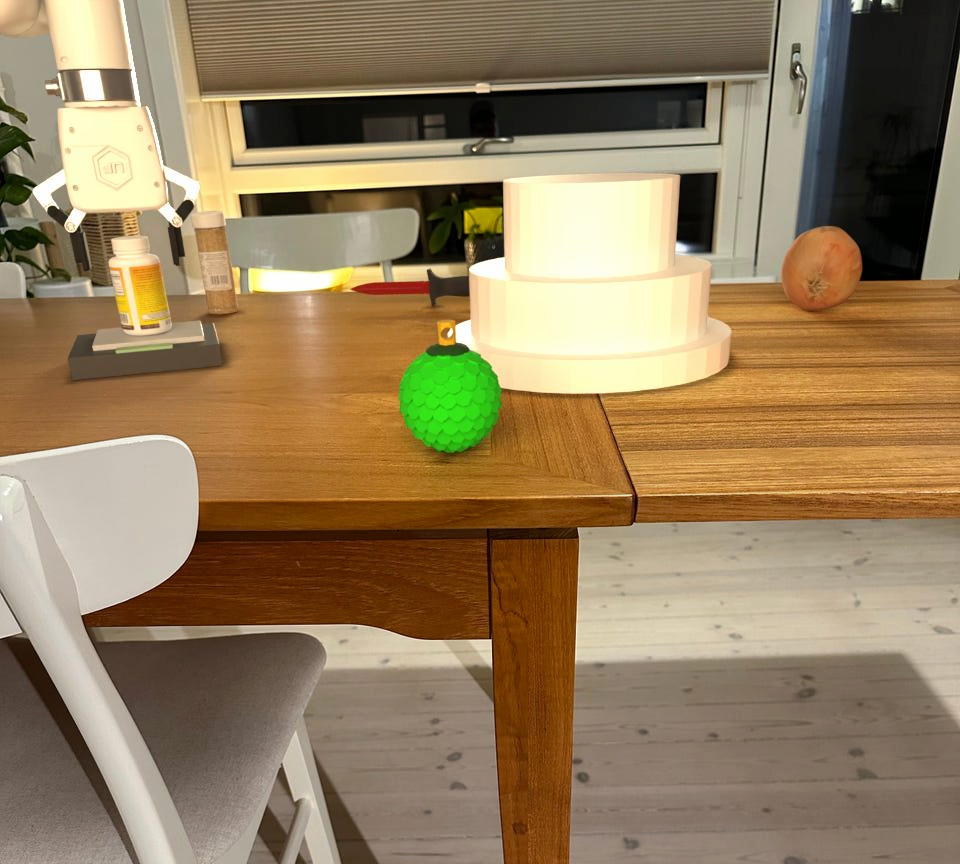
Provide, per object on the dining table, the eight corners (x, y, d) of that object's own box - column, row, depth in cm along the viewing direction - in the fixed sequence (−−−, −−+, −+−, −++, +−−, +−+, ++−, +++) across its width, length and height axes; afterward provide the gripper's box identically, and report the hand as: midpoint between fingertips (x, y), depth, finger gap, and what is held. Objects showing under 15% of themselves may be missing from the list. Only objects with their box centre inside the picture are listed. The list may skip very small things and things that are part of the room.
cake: (478, 405, 88) (470, 193, 80) (429, 342, 114) (419, 178, 106) (780, 378, 93) (802, 175, 84) (667, 324, 119) (676, 165, 110)
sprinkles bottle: (242, 309, 141) (227, 209, 135) (235, 314, 137) (219, 212, 131) (211, 310, 141) (195, 211, 135) (203, 315, 137) (186, 213, 131)
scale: (72, 380, 104) (66, 352, 102) (82, 355, 116) (76, 329, 114) (222, 365, 107) (218, 338, 106) (216, 342, 119) (212, 317, 118)
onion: (852, 303, 126) (864, 221, 121) (859, 317, 118) (872, 229, 113) (776, 303, 128) (784, 223, 124) (777, 317, 120) (786, 231, 115)
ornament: (494, 432, 80) (490, 308, 76) (511, 461, 73) (508, 327, 69) (398, 440, 79) (388, 315, 75) (406, 470, 72) (396, 335, 68)
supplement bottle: (181, 327, 113) (164, 234, 108) (159, 337, 108) (140, 239, 103) (137, 327, 114) (118, 235, 109) (114, 337, 109) (93, 240, 104)
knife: (514, 302, 137) (514, 265, 134) (514, 304, 135) (513, 267, 133) (352, 306, 139) (348, 270, 137) (350, 308, 138) (346, 271, 136)
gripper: (6, 92, 94) (47, 276, 102) (186, 89, 98) (213, 266, 106) (16, 95, 100) (54, 268, 109) (185, 92, 105) (210, 258, 113)
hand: (133, 267), depth 107 cm, fingers open, 9 cm apart
